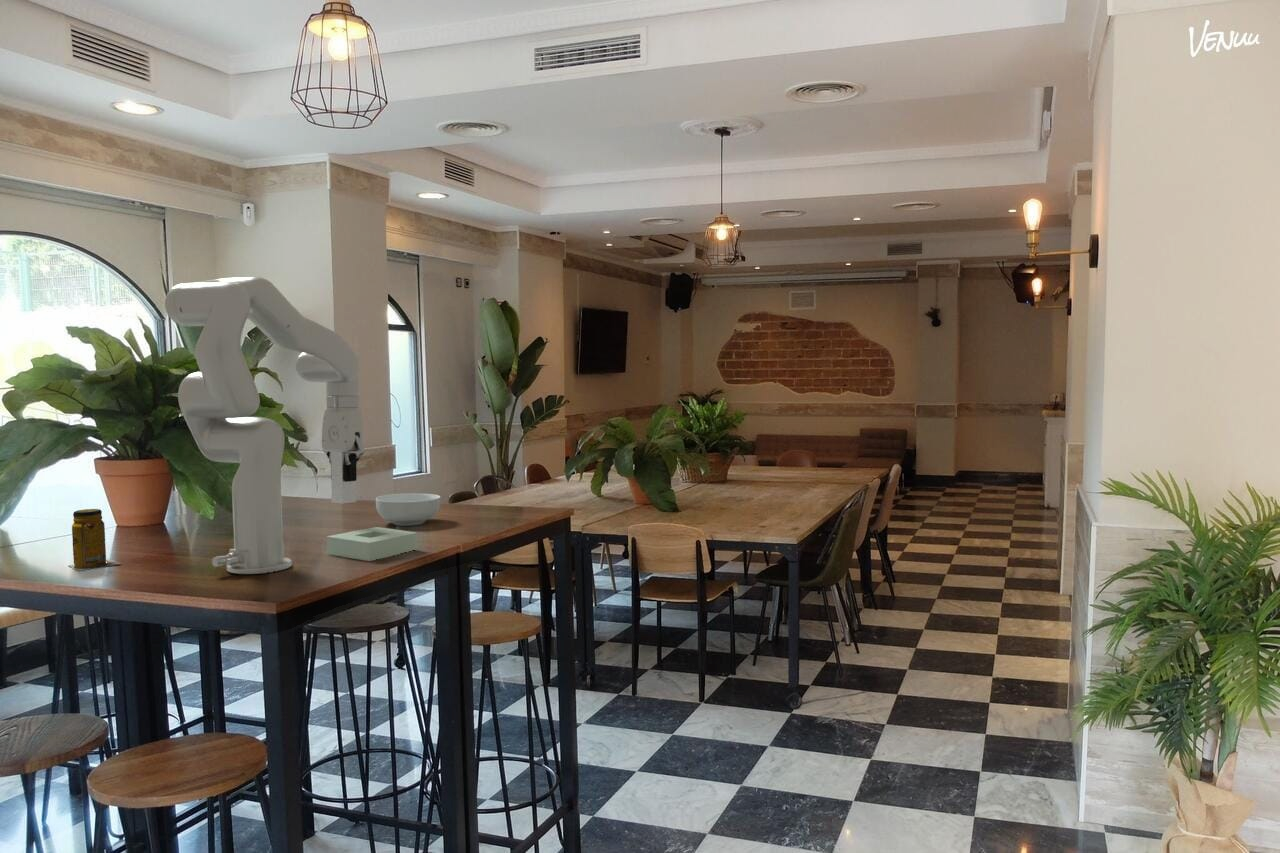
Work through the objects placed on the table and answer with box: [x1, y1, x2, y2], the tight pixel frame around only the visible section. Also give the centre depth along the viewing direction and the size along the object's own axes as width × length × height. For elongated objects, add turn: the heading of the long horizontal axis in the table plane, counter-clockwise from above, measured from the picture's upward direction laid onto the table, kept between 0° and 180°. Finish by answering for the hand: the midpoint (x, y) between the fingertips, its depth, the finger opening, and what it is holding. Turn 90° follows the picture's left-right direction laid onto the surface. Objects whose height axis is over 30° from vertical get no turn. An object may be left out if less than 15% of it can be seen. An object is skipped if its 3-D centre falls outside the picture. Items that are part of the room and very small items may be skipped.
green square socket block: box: [326, 526, 419, 562], centre depth 216 cm, size 14×14×4 cm
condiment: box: [68, 508, 122, 571], centre depth 204 cm, size 7×8×12 cm
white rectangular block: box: [330, 449, 357, 504], centre depth 228 cm, size 4×4×14 cm
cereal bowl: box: [375, 492, 442, 526], centre depth 254 cm, size 17×17×7 cm
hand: (343, 479), depth 228 cm, fingers closed on white rectangular block, 4 cm apart
